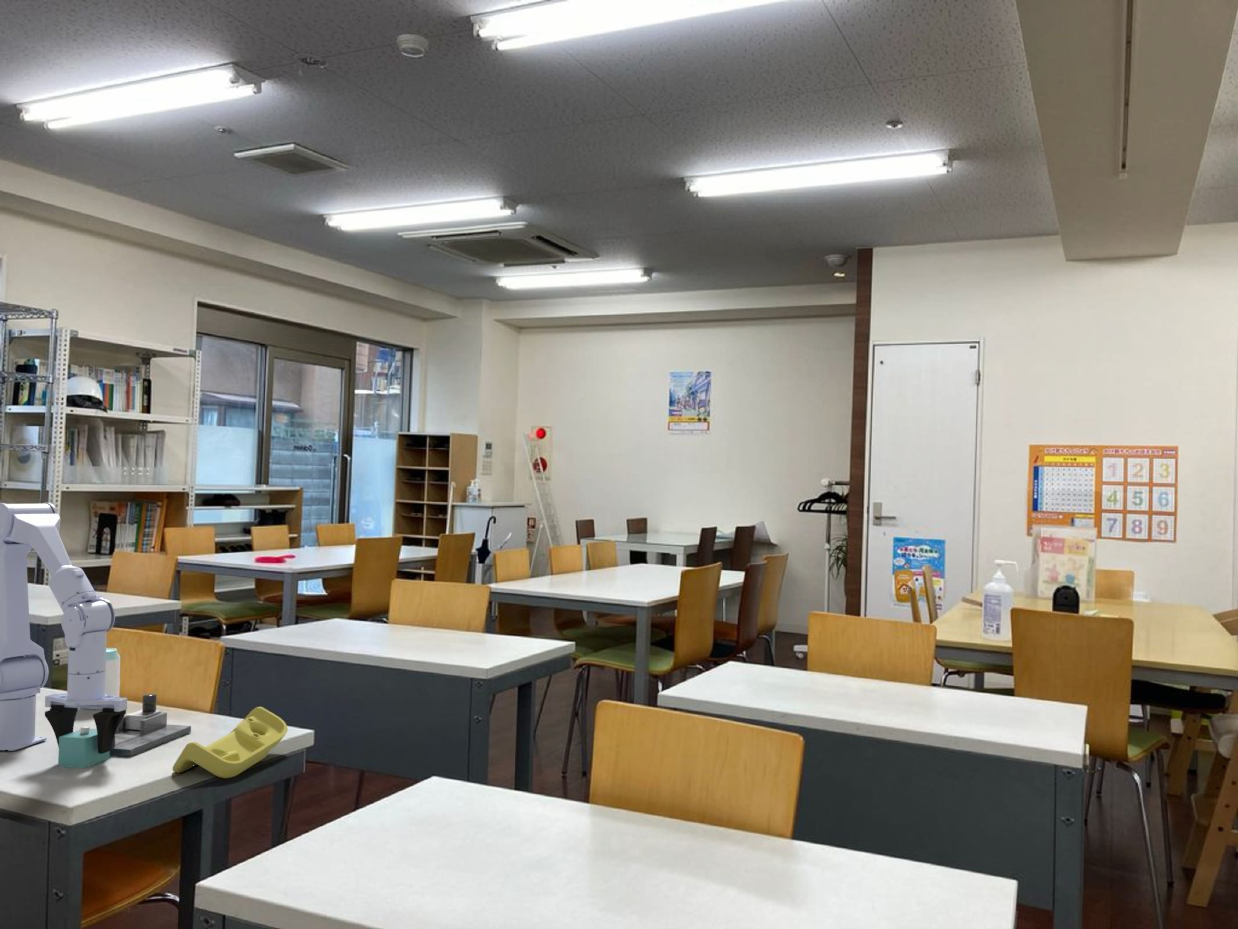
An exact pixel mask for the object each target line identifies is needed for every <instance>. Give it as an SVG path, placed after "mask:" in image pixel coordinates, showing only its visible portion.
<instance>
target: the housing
mask: <svg viewBox="0 0 1238 929" xmlns="http://www.w3.org/2000/svg"><path fill="white" fill-rule="evenodd" d="M109 754H110V751H108V752H106V753H103V754H99V753H98V746H97V728H91V727H90V726H89V725H88V726H87V725H86V726H81V727H80V729H77V730H75V731H73V732H72V733H69V734H66V735H63V736H60V737H59V747H58V758H57V759H58V761H57V763H58V764H57V765H59V766H58V767H64V768H65V767H67V768H77V767H78V768H80V769H86V768H88V767H91V766H93V765H95V764H97V763H101V762H103V761H105V760H108V759H110V755H109Z"/></svg>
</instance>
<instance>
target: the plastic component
mask: <svg viewBox="0 0 1238 929" xmlns="http://www.w3.org/2000/svg"><path fill="white" fill-rule="evenodd" d="M288 728H289V727H288V725H287V723H286V722H285V721H284V720H283V719H282V718H281V717H280V716H278V715H276V714H275V713H273V712H271V711H269V709H266V708H265V707H263V706H257V707H255V708H253V709H251V711H249V713H248V714H247V715H246V717H244V718H243V720H242V721H240V722H239V723H238V724H237V725H236V727H235V728H234V729H233V730H231V732H229V733H228V734H226V735H224V736H222V737H221V738H219V739H217V740H215V741H213V742H211V743H210V744H208V745H206V746H203V745H202V744H200V743H198V742H197V741H191V742H188V743H187V744H186V745H185V747H184V748H183V750H182V752H181V753H180V754H179V756H178V757H177V759H176V761H175V762H174V764H173V766H172V771H173V772H175V773H176V772H177V773H176V774H181V773H183V772H185V771H187V770H189V769H191V768H192V766H193V765H195V766H196V765H198V766H199V767H201V768H202V769H205V770H206V771H207V772H209V773H211V774H212V775H214V776H215V777H219V778H222V779H230V778H233V777H236V776H238V775H240V774H241V773H243V772H244V771H246V770H247V769H249V768H251V767H253V765H256V764H257V763H259V762H260V761H262V760H263V759H265V758H266V757H268V754H269V752H270V750H272V749H274V748H275V747H276V746H278V744H280V743H281V741H282V739H284V737H285V736H286V734H287V733H288ZM190 767H191V768H190ZM193 767H194V766H193ZM188 768H189V769H188ZM186 769H187V770H186ZM182 771H183V772H182ZM180 772H181V773H180Z"/></svg>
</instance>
